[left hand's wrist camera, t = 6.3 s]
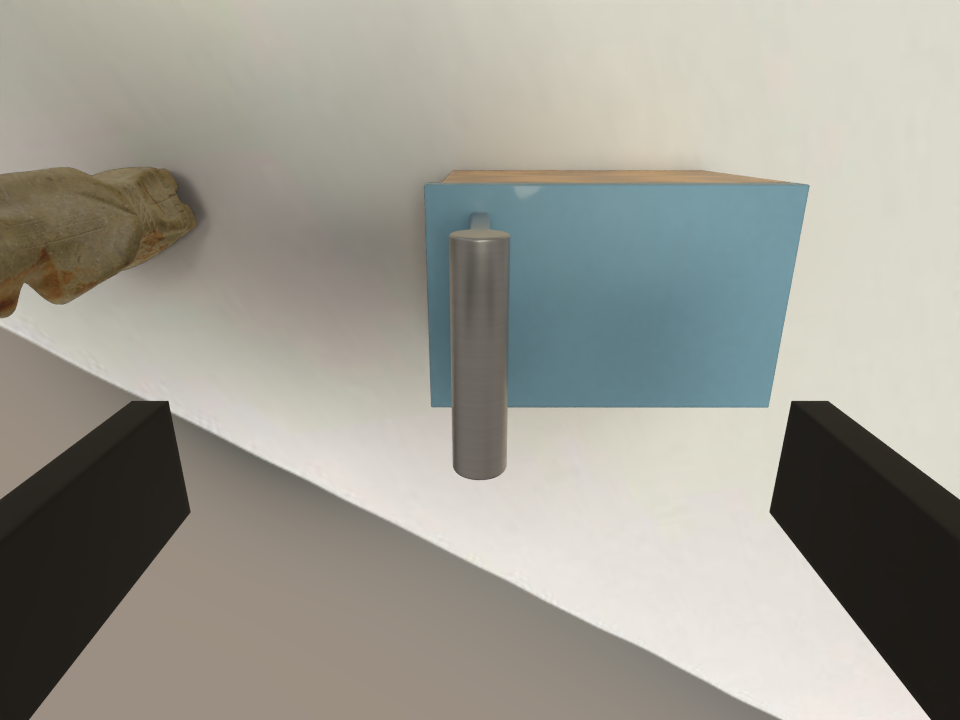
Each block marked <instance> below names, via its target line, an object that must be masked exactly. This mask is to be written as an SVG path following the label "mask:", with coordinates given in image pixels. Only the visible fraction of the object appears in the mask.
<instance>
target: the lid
mask: <svg viewBox="0 0 960 720" xmlns="http://www.w3.org/2000/svg"><path fill="white" fill-rule="evenodd" d="M808 191H809V185H807V184H799V183H427V184H425V185H424V195H425V227H426V259H427V290H428V322H429V354H430V386H431V407H452V440H453V468H454V470H455V471H456V473H458V474H459V475H460V476H462V477H465V478H468V479H473V480H487V479H492V478H495V477H497V476H499V475H501V474H502V473H503V472H504V470H505V468H506V459H507V407H768V406H769V401H770V395H771V390H772V385H773V379H774V374H775V369H776V363H777V358H778V352H779V347H780V342H781V336H782V331H783V325H784V320H785V315H786V309H787V304H788V298H789V293H790V288H791V282H792V277H793V272H794V266H795V261H796V255H797V250H798V245H799V239H800V234H801V228H802V223H803V218H804V212H805V207H806V201H807V196H808Z"/></svg>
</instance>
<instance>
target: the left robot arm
mask: <svg viewBox="0 0 960 720" xmlns="http://www.w3.org/2000/svg"><path fill="white" fill-rule="evenodd" d="M189 514H190V507H189V502H188V497H187V492H186V487H185V482H184V477H183V472H182V467H181V462H180V457H179V452H178V447H177V442H176V437H175V432H174V427H173V422H172V417H171V412H170V407H169V402H168V401H131V402H130V403H129V404H127V405H126V406H125V407H123V408H122V409H121V410H119V411H118V412H117V413H115V414H114V415H113V416H111V417H110V418H109V419H107V420H106V421H105V422H103V423H102V424H101V425H99V426H98V427H97V428H95V429H94V430H93V431H91V432H90V433H89V434H87V435H86V436H85V437H83V438H82V439H81V440H79V441H78V442H77V443H75V444H74V445H73V446H71V447H70V448H69V449H67V450H66V451H65V452H63V453H62V454H61V455H59V456H58V457H57V458H55V459H54V460H53V461H51V462H50V463H49V464H47V465H46V466H45V467H43V468H42V469H41V470H39V471H38V472H37V473H35V474H34V475H33V476H31V477H30V478H29V479H27V480H26V481H25V482H23V483H22V484H21V485H19V486H18V487H17V488H15V489H14V490H13V491H11V492H10V493H9V494H7V495H6V496H5V497H3V498H2V499H1V500H0V720H29V719H30V718H31V716H32V715H33V714H34V713H35V711H36V710H37V709H38V707H39V706H40V705H41V703H42V702H43V701H44V700H45V698H46V697H47V696H48V695H49V693H50V692H51V691H52V689H53V688H54V687H55V685H56V684H57V683H58V682H59V680H60V679H61V678H62V677H63V675H64V674H65V673H66V671H67V670H68V669H69V668H70V666H71V665H72V664H73V662H74V661H75V660H76V659H77V657H78V656H79V655H80V653H81V652H82V651H83V650H84V648H85V647H86V646H87V644H88V643H89V642H90V641H91V639H92V638H93V637H94V636H95V634H96V633H97V632H98V630H99V629H100V628H101V626H102V625H103V624H104V623H105V621H106V620H107V619H108V618H109V616H110V615H111V614H112V612H113V611H114V610H115V608H116V607H117V606H118V605H119V603H120V602H121V601H122V600H123V598H124V597H125V596H126V594H127V593H128V592H129V591H130V589H131V588H132V587H133V585H134V584H135V583H136V582H137V580H138V579H139V578H140V576H141V575H142V574H143V573H144V571H145V570H146V569H147V567H148V566H149V565H150V564H151V562H152V561H153V560H154V558H155V557H156V556H157V555H158V553H159V552H160V551H161V549H162V548H163V547H164V546H165V544H166V543H167V542H168V540H169V539H170V538H171V537H172V535H173V534H174V533H175V531H176V530H177V529H178V528H179V526H180V525H181V524H182V522H183V521H184V520H185V519H186V517H187V516H188V515H189ZM770 514H771V515H772V516H773V517H774V519H775V520H776V521H777V522H778V524H779V525H780V526H781V528H782V529H783V530H784V531H785V533H786V534H787V535H788V537H789V538H790V539H791V540H792V542H793V543H794V544H795V546H796V547H797V548H798V549H799V551H800V552H801V553H802V555H803V556H804V557H805V558H806V560H807V561H808V562H809V564H810V565H811V566H812V567H813V569H814V570H815V571H816V573H817V574H818V575H819V576H820V578H821V579H822V580H823V582H824V583H825V584H826V585H827V587H828V588H829V589H830V591H831V592H832V593H833V594H834V596H835V597H836V598H837V600H838V601H839V602H840V603H841V605H842V606H843V607H844V609H845V610H846V611H847V612H848V614H849V615H850V616H851V618H852V619H853V620H854V621H855V623H856V624H857V625H858V627H859V628H860V629H861V630H862V632H863V633H864V634H865V636H866V637H867V638H868V639H869V641H870V642H871V643H872V644H873V646H874V647H875V648H876V650H877V651H878V652H879V653H880V655H881V656H882V657H883V659H884V660H885V661H886V662H887V664H888V665H889V666H890V668H891V669H892V670H893V671H894V673H895V674H896V675H897V677H898V678H899V679H900V680H901V682H902V683H903V684H904V686H905V687H906V688H907V689H908V691H909V692H910V693H911V695H912V696H913V697H914V698H915V700H916V701H917V702H918V704H919V705H920V706H921V707H922V709H923V710H924V711H925V713H926V714H927V715H928V716H929V718H930V719H931V720H960V500H959V499H958V498H957V497H955V496H954V495H953V494H951V493H950V492H949V491H947V490H946V489H945V488H943V487H942V486H941V485H939V484H938V483H937V482H935V481H934V480H933V479H931V478H930V477H929V476H927V475H926V474H925V473H923V472H922V471H921V470H919V469H918V468H917V467H915V466H914V465H913V464H911V463H910V462H909V461H907V460H906V459H905V458H903V457H902V456H901V455H899V454H898V453H897V452H895V451H894V450H893V449H891V448H890V447H889V446H887V445H886V444H885V443H883V442H882V441H881V440H879V439H878V438H877V437H875V436H874V435H873V434H871V433H870V432H869V431H867V430H866V429H865V428H863V427H862V426H861V425H859V424H858V423H857V422H855V421H854V420H853V419H851V418H850V417H849V416H847V415H846V414H845V413H843V412H842V411H841V410H839V409H838V408H837V407H835V406H834V405H833V404H831V403H830V402H829V401H792V402H791V407H790V412H789V417H788V422H787V427H786V432H785V437H784V442H783V447H782V452H781V457H780V462H779V467H778V472H777V477H776V482H775V487H774V492H773V497H772V502H771V507H770Z"/></svg>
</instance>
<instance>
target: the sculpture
mask: <svg viewBox="0 0 960 720" xmlns="http://www.w3.org/2000/svg"><path fill="white" fill-rule="evenodd" d="M177 189H178V185H177V183H176V181H175V180H174V178H173V177H172V175H171V174H170V172H169V171H168V170H167V169H156V168H150V167H131V168H121V169H114V170H109V171H105V172H101V173H98V174H95V175H93V176H91V175H88V174H86V173H84V172H82V171H79V170H77V169H74V168H69V167H60V168H49V169H43V170H36V171H27V172H17V173H7V174H1V175H0V318H5V317H8V316H10V315H11V314H12V313H13V312H14V311H15V309H16V306H17V302H18V298H19V294H20V290H21V288H22V286H23V284H24V283H26V284H28V285H29V286H30V287H32V288H33V289H34V290H35V291H36V292H37V293H38V294H39V295H41V296H42V297H43V298H44V299H46V300H47V301H49V302H51V303H53V304H66V303H69V302H70V301H72V300H74V299H75V298H77V297H79V296H80V295H82V294H84V293H86V292H87V291H89V290H90V289H92V288H93V287H95V286H97V285H98V284H100V283H101V282H103V281H105V280H107V279H108V278H110V277H112V276H114V275H116V274H117V273H119V272H120V271H123V270H126V269H130V268H132V267H135V266H138V265H139V264H141V263H143V262H145V261H147V260H149V259H150V258H152V257H154V256H156V255H157V254H159V253H160V252H162V251H163V250H165V249H166V248H167V247H169V246H170V245H172V244H173V243H174V242H176V241H177V239H179V238H180V237H182V236H183V235H185V234H186V233H188V232H189V231H190V230H192V229H193V228H194V227H195V226H196V225H197V222H196V219H195V217H194V214H193V212H192V210H191V208H190V207H189V206H188V205H187V204H184V203H183V202H181V201H180V200H179V198H178V196H177V194H176V191H177Z"/></svg>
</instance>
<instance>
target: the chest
mask: <svg viewBox="0 0 960 720" xmlns="http://www.w3.org/2000/svg"><path fill="white" fill-rule="evenodd" d="M442 183H790V182H784V181H776V180H769V179H762V178H754V177H747V176H740V175H732V174H725V173H717V172H710V171H585V170H453V171H452V172H451V173H450V174H449V175H448V176H447V177H446V178H445V180H444V181H443V182H442Z"/></svg>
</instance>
